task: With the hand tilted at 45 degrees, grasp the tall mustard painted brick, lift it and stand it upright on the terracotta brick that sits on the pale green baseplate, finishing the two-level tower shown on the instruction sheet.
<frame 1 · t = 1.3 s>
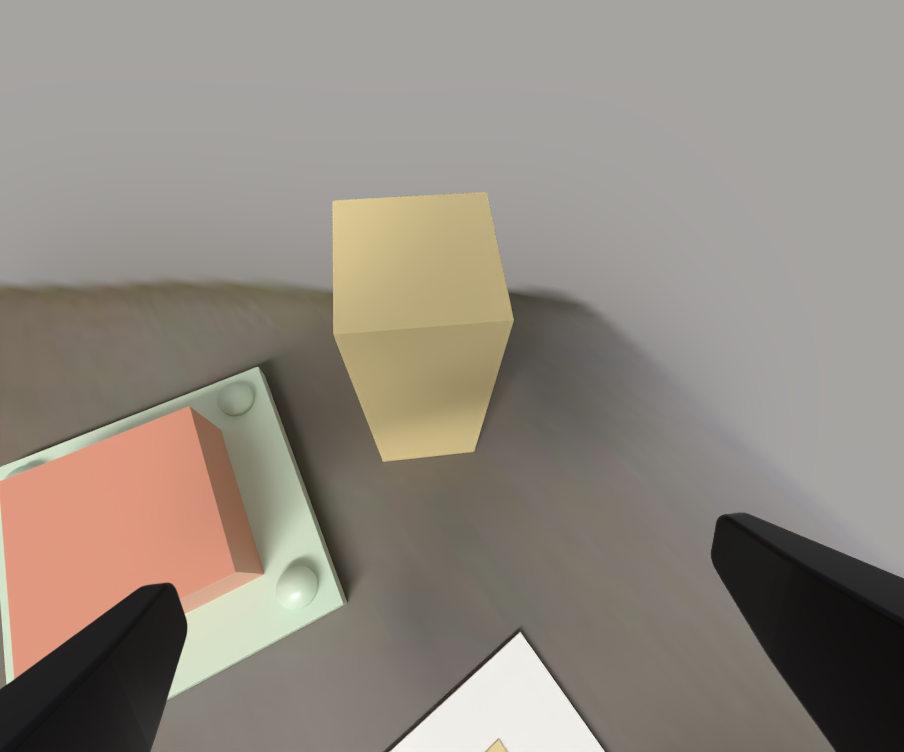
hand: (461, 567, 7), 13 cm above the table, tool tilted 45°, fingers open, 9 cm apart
baseplate: (171, 536, 20), on the table
tall brick: (424, 414, 23), on the table
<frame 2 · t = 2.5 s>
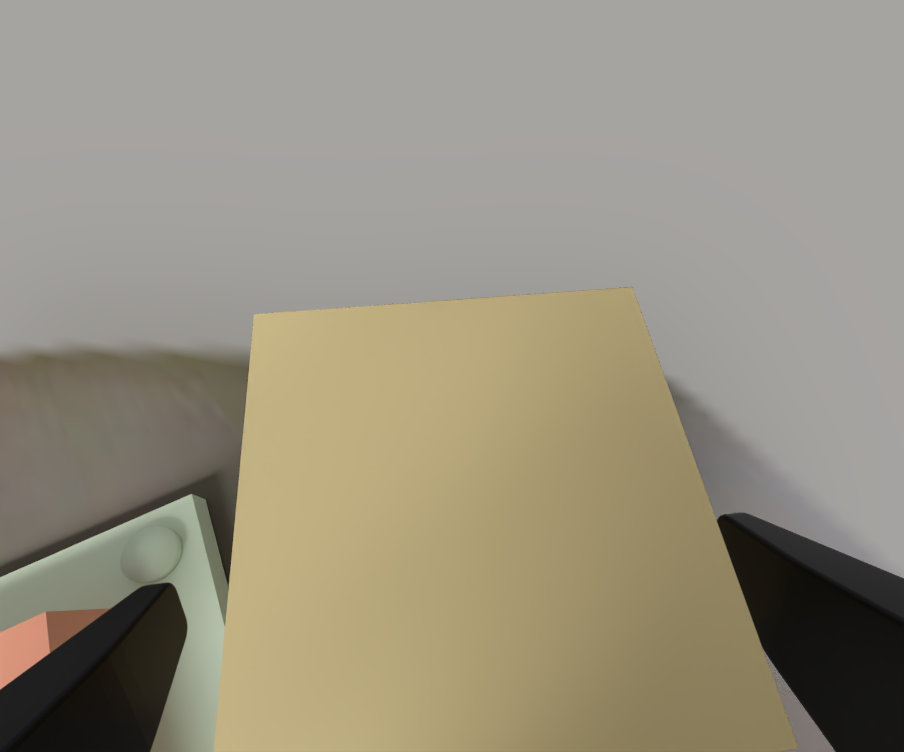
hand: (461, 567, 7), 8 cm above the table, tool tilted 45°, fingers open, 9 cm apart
tall brick: (445, 563, 15), on the table
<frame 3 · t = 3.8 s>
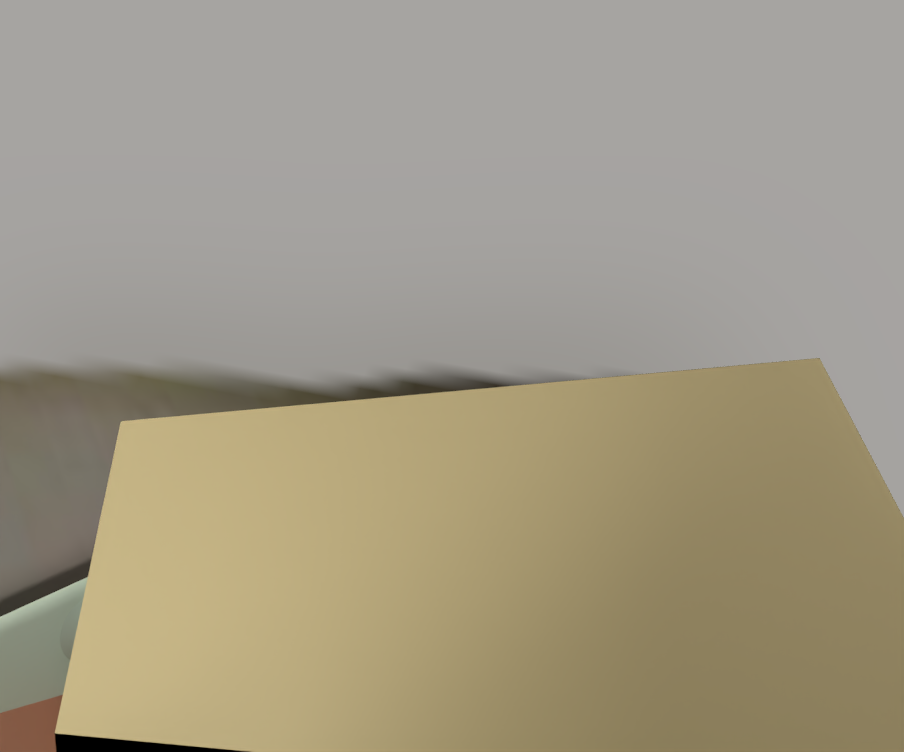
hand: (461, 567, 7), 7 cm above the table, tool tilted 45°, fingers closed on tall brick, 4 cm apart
tall brick: (453, 629, 13), on the table, touching gripper
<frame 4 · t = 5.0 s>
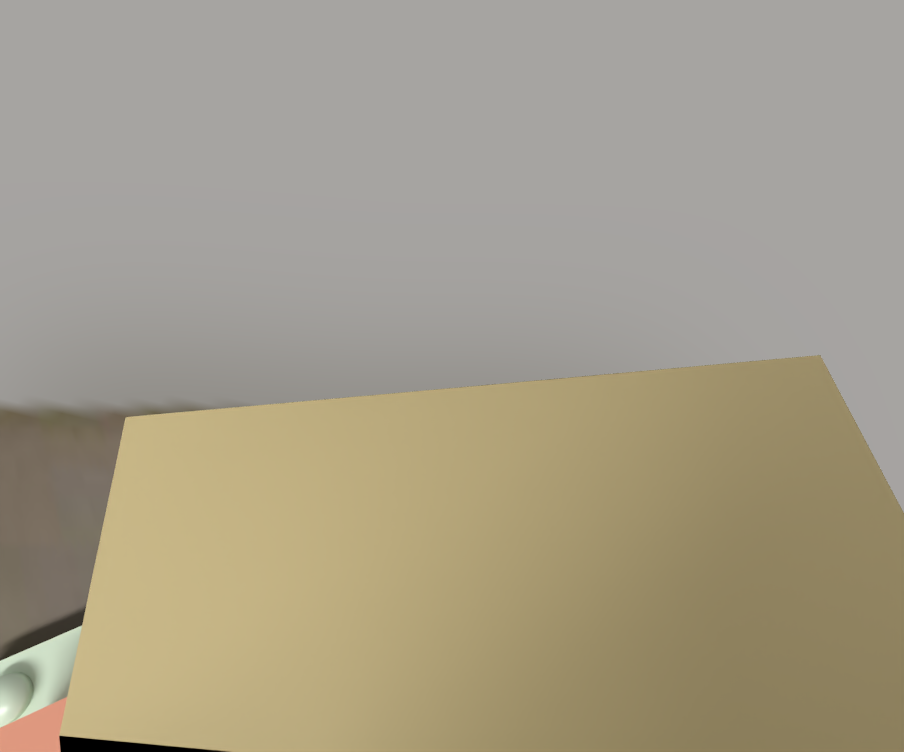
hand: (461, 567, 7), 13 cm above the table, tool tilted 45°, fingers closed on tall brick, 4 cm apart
tall brick: (454, 627, 13), point 7 cm above the table, touching gripper
when the fingers open (11 cm above the table, at t = 6.6 s): tall brick stays where it is, resting on baseplate.
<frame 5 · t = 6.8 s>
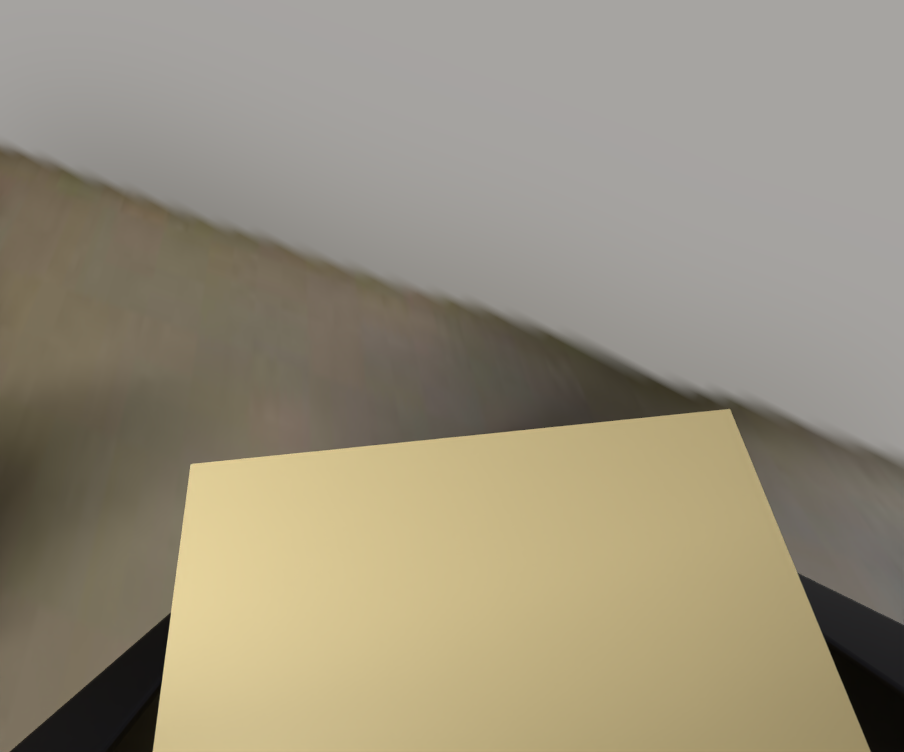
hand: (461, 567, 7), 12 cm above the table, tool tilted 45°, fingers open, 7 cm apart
tall brick: (451, 626, 14), point 4 cm above the table, touching baseplate
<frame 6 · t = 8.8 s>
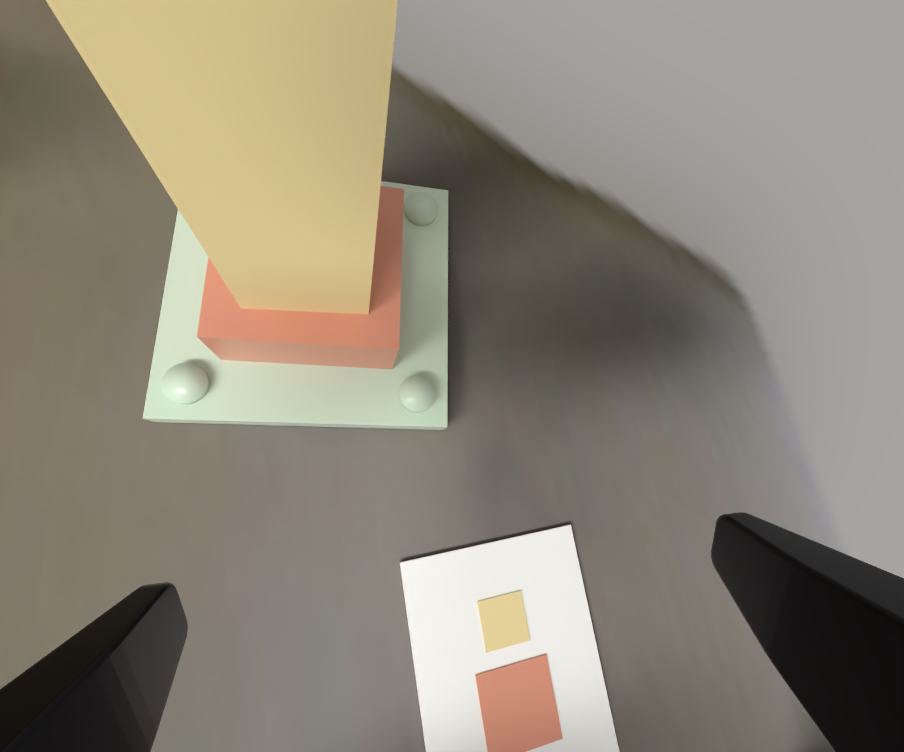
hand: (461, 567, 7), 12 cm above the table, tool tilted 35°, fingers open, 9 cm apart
baseplate: (317, 298, 21), on the table
instruction sheet: (510, 665, 19), on the table
tall brick: (309, 256, 17), point 4 cm above the table, touching baseplate
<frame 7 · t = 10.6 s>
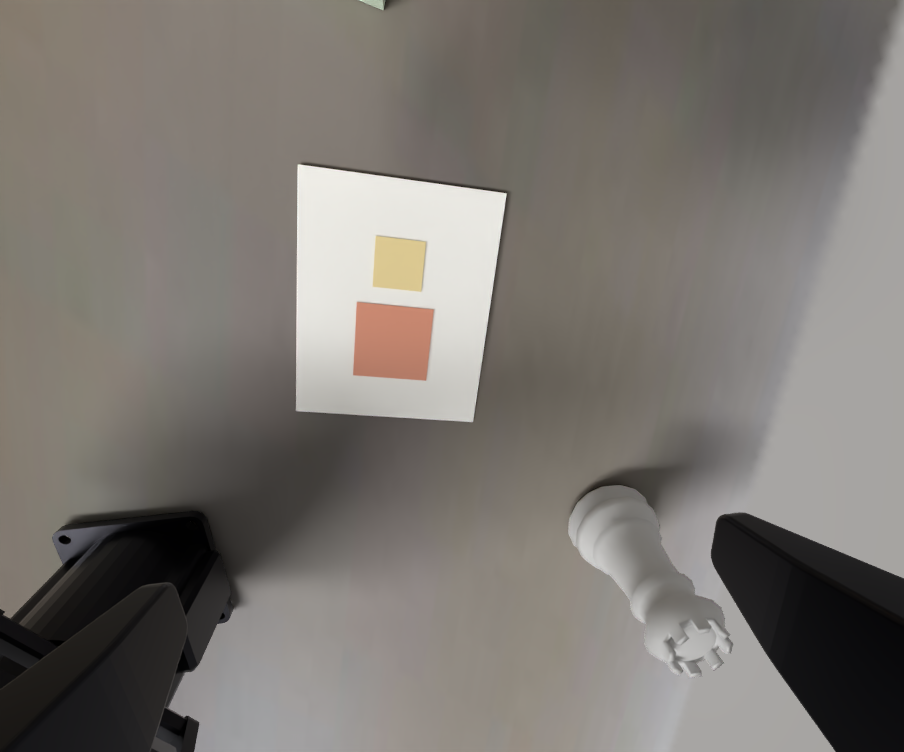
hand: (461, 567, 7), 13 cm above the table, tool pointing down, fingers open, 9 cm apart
instruction sheet: (395, 307, 19), on the table
rook chess piece: (603, 513, 24), on the table
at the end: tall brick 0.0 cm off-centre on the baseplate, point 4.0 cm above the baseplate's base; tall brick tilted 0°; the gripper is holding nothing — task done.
